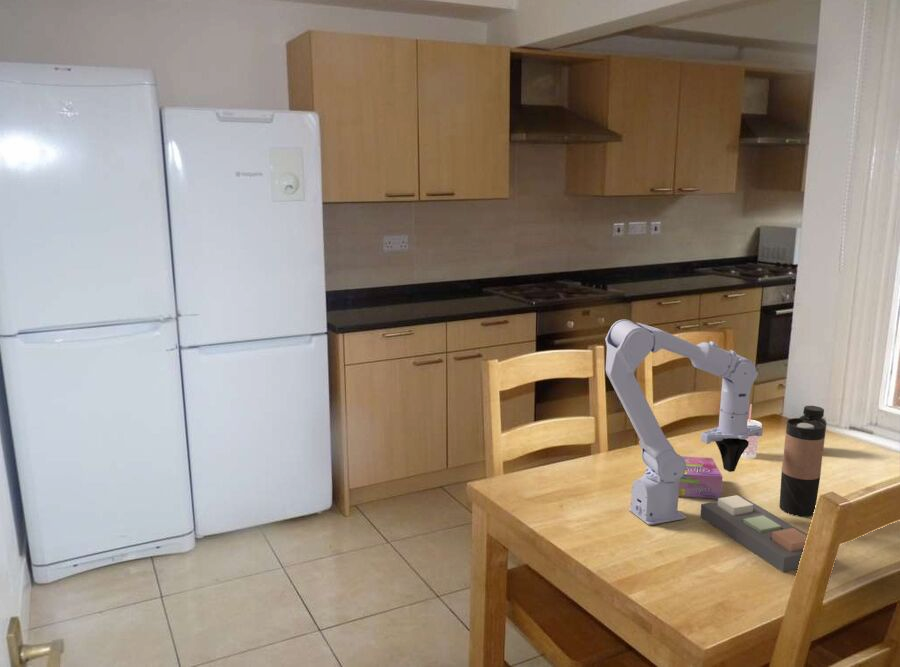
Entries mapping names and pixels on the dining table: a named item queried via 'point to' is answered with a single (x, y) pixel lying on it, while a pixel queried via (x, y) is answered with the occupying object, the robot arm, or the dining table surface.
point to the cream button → (735, 505)
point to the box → (700, 478)
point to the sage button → (762, 524)
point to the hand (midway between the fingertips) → (729, 470)
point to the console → (753, 534)
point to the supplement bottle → (814, 415)
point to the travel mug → (801, 466)
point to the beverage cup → (751, 439)
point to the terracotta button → (789, 539)
